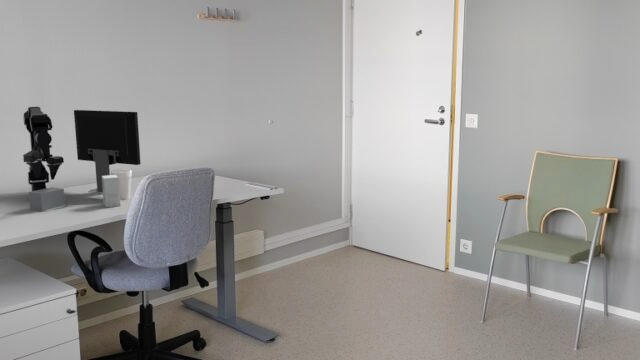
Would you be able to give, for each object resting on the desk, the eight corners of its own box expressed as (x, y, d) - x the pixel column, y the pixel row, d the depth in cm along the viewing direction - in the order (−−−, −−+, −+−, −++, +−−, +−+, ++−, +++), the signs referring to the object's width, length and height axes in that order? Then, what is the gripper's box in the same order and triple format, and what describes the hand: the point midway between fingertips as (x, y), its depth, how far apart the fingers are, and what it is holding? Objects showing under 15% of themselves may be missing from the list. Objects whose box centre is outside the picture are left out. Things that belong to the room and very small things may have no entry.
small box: (120, 206, 271) (118, 177, 269) (105, 207, 268) (103, 178, 266) (118, 202, 278) (116, 174, 276) (103, 204, 275) (101, 175, 273)
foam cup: (126, 200, 282) (124, 173, 279) (108, 200, 284) (106, 172, 281) (136, 196, 291) (135, 169, 289) (119, 195, 293) (117, 169, 290)
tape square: (30, 209, 266) (30, 208, 266) (49, 204, 275) (49, 204, 275) (46, 211, 262) (46, 210, 262) (65, 206, 271) (65, 206, 271)
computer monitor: (145, 193, 297) (140, 111, 290) (133, 196, 290) (127, 112, 283) (86, 186, 316) (80, 109, 309) (73, 189, 309) (66, 110, 301)
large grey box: (30, 209, 265) (28, 192, 264) (53, 204, 276) (51, 187, 274) (42, 211, 262) (40, 193, 260) (65, 205, 272) (63, 188, 271)
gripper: (10, 144, 260) (14, 180, 263) (41, 146, 252) (44, 183, 255) (33, 141, 270) (36, 176, 273) (63, 143, 262) (66, 179, 265)
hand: (45, 178), depth 266 cm, fingers open, 9 cm apart
